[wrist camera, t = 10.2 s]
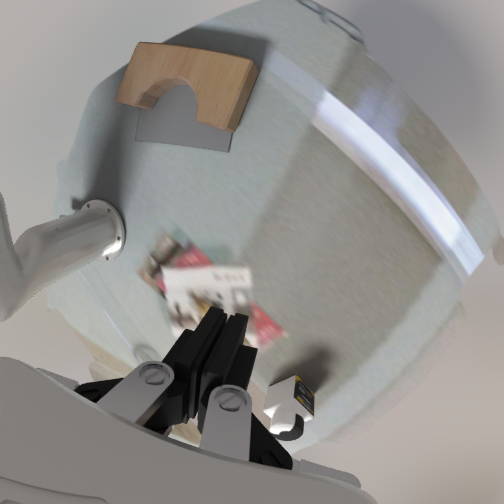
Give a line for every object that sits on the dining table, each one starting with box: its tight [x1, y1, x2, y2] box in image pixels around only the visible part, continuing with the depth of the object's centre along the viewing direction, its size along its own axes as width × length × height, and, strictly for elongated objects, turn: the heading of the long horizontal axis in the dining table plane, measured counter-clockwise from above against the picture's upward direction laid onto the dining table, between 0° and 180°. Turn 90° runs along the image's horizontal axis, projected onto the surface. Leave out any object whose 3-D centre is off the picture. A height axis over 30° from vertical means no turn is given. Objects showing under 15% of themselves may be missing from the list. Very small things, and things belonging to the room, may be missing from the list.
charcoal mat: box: [135, 57, 247, 153], centre depth 40 cm, size 17×16×1 cm
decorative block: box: [115, 42, 259, 133], centre depth 36 cm, size 11×6×20 cm
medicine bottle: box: [263, 375, 314, 441], centre depth 48 cm, size 7×7×12 cm
